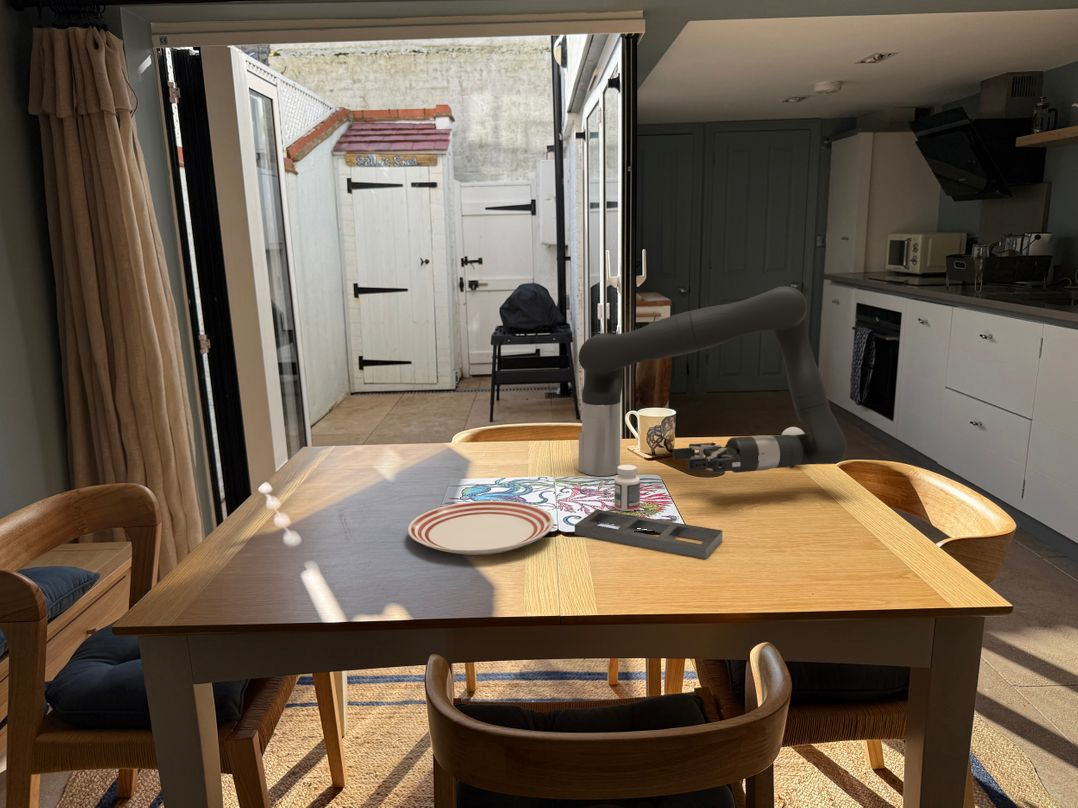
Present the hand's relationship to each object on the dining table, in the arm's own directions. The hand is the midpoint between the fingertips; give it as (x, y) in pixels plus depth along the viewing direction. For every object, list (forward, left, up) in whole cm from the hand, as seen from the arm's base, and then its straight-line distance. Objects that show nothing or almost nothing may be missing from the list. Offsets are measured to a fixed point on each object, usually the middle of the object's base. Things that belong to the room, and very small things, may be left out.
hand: (680, 459), depth 166 cm
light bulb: (+15, +40, -10) cm, 44 cm away
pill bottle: (-9, -7, -10) cm, 15 cm away
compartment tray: (+1, -21, -10) cm, 23 cm away
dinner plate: (-27, -35, -10) cm, 46 cm away
